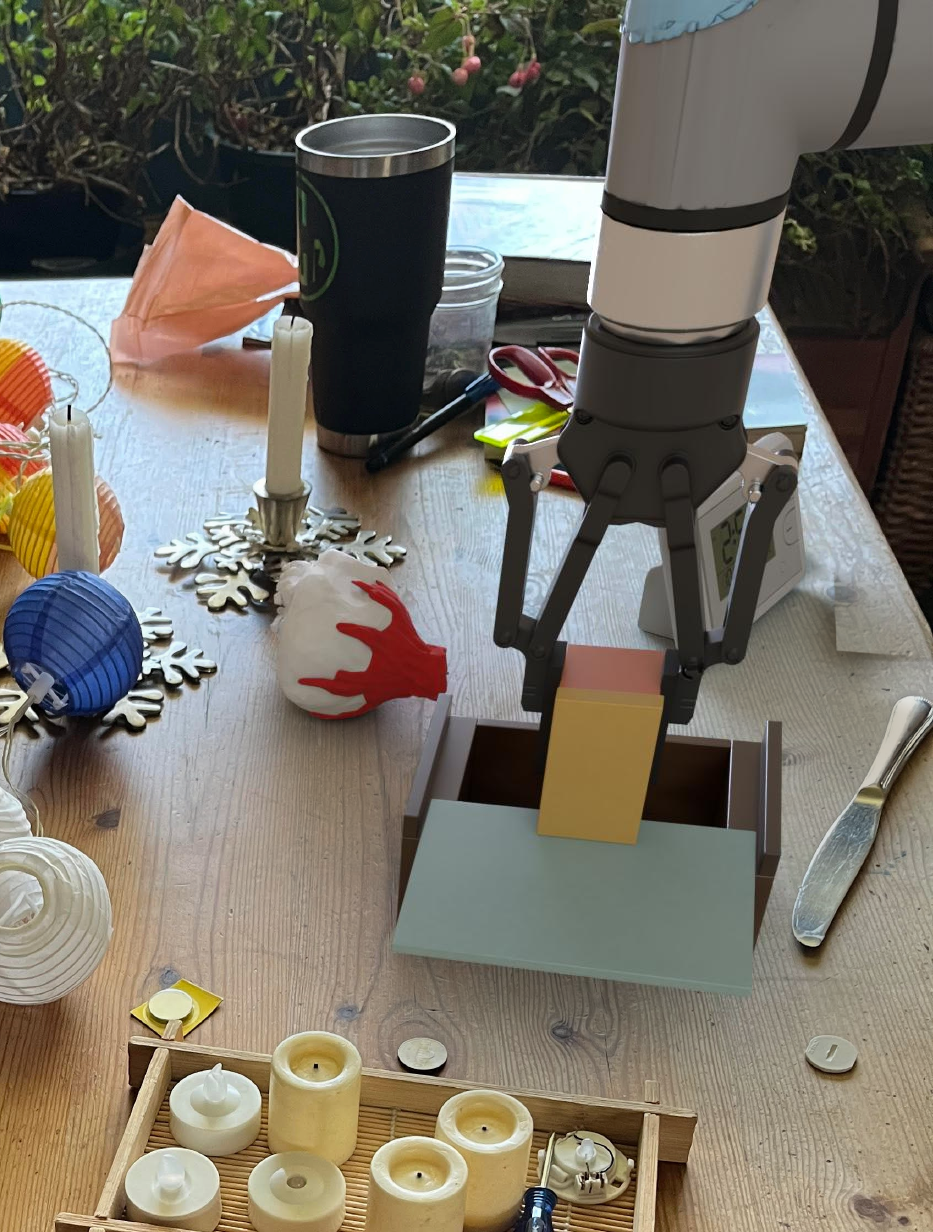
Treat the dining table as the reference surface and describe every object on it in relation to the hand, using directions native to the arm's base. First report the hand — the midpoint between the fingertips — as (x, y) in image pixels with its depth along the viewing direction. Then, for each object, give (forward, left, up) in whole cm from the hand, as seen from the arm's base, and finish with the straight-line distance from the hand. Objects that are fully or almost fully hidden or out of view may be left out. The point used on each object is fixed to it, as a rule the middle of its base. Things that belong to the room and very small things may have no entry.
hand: (596, 764), depth 85 cm
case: (0, +1, -9) cm, 9 cm away
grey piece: (0, +11, -1) cm, 11 cm away
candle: (+17, -19, -9) cm, 27 cm away
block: (0, 0, 0) cm, 0 cm away
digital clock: (-7, -34, -9) cm, 36 cm away
